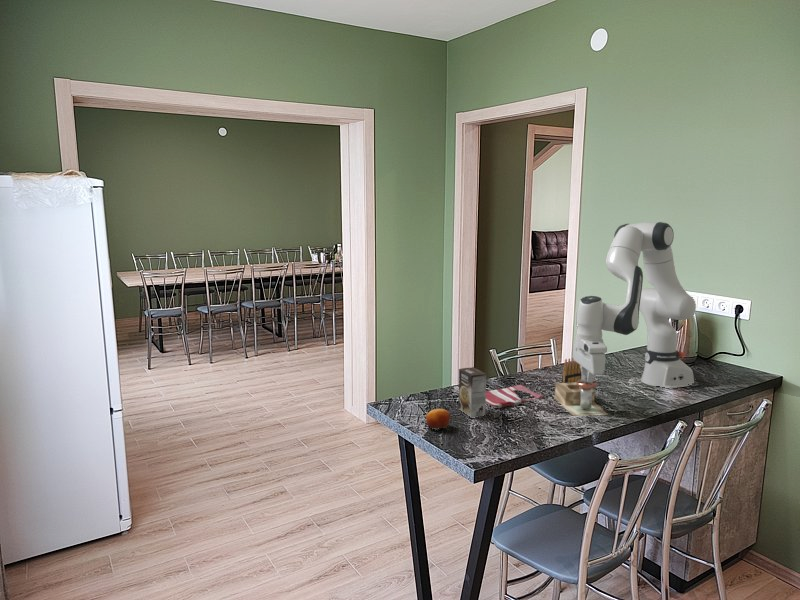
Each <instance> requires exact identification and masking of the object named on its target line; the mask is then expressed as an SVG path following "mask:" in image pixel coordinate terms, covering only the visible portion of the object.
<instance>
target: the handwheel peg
mask: <svg viewBox="0 0 800 600" xmlns="http://www.w3.org/2000/svg"><path fill="white" fill-rule="evenodd" d="M586 376H588V372H587V373H581V380H577V384H576V385H577V386H578V387H581V392H580V407H581V408H585V409H589V408H591V407H592V390H593V389H595V388H597V387H598V382H597V380H593V382H587V381H586Z"/></svg>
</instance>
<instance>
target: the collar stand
mask: <svg viewBox="0 0 800 600" xmlns="http://www.w3.org/2000/svg"><path fill="white" fill-rule="evenodd" d="M576 384H577V383H562V382H556V383H555V391H554V394H552V397H554V399H555V400H556V401H557V402H558V403H559V404H561V406H562V407H563V408H564V409H565V410H566V411H567V412H568V413H569V414H570V415H572V416H573V417H576V416H577V417H579V416H602V415H603V416H604V415H605V416H608V415H609V413H607V412H606V411H605V410H604V409H603V408H602V407H601V406H600V405H599V404H597V403H596V402H595V395H596V392H595V390H594V389H592V407H591V408H589V409H585V408H581V407H580V392H581V387H578V386H577V385H576Z"/></svg>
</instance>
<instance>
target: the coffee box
mask: <svg viewBox="0 0 800 600" xmlns="http://www.w3.org/2000/svg"><path fill="white" fill-rule="evenodd" d="M486 391H487V373H486V372H484V371H482V370H481V369H477V368H476V367H463V368H458V410H459V409H460V410H461V411H462V412H464V413H465V414H467V415H468V416H470V417H476V416H483V415H485V416H486V406H487V405H486Z"/></svg>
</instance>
